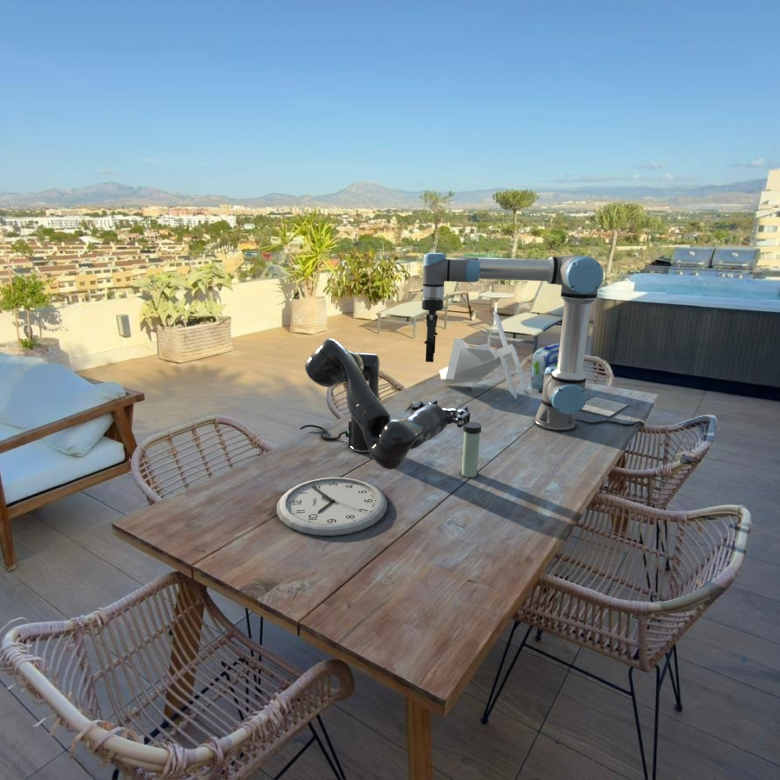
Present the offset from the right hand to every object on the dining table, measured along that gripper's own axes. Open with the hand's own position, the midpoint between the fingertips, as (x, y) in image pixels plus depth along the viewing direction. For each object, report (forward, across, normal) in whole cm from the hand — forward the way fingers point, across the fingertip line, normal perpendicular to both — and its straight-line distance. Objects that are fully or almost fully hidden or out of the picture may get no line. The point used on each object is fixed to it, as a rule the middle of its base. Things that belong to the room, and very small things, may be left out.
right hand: (430, 357), depth 190 cm
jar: (+28, +36, +15) cm, 48 cm away
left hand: (0, +54, +8) cm, 54 cm away
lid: (+12, +36, +15) cm, 40 cm away
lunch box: (+28, -63, +56) cm, 89 cm away
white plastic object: (+28, -50, +22) cm, 61 cm away
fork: (+28, -25, -8) cm, 39 cm away
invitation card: (+28, -38, +73) cm, 87 cm away
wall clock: (+28, +61, -23) cm, 71 cm away
